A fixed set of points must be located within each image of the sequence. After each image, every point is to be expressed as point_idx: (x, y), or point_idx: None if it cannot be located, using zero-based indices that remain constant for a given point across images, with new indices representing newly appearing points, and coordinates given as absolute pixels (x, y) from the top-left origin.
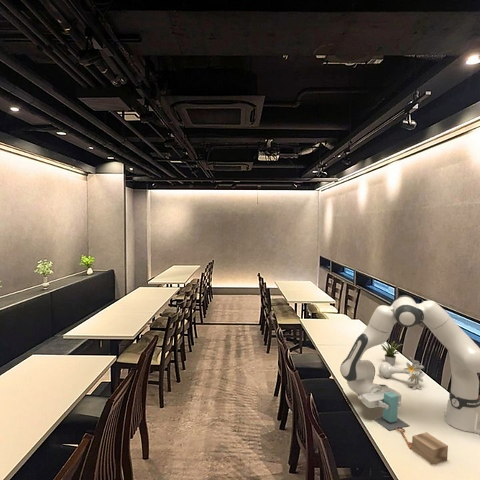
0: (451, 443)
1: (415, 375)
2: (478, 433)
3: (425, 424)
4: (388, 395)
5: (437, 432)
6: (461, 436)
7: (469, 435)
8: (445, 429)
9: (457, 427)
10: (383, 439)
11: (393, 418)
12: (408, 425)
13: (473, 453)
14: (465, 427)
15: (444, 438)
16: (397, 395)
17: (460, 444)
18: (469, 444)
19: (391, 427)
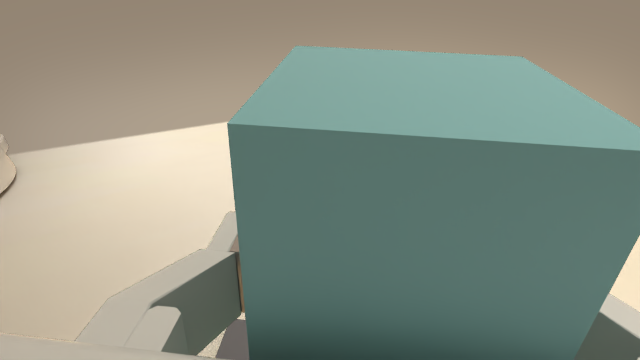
0: (217, 161)
1: None
2: (7, 146)
3: (77, 285)
4: (548, 80)
5: (151, 213)
6: (98, 164)
7: (56, 157)
8: (64, 210)
9: (3, 181)
10: (628, 302)
11: None
12: (242, 321)
13: (222, 125)
14: (2, 152)
15: (195, 182)
16: (299, 50)
17: (191, 149)
18: (158, 140)
19: None
